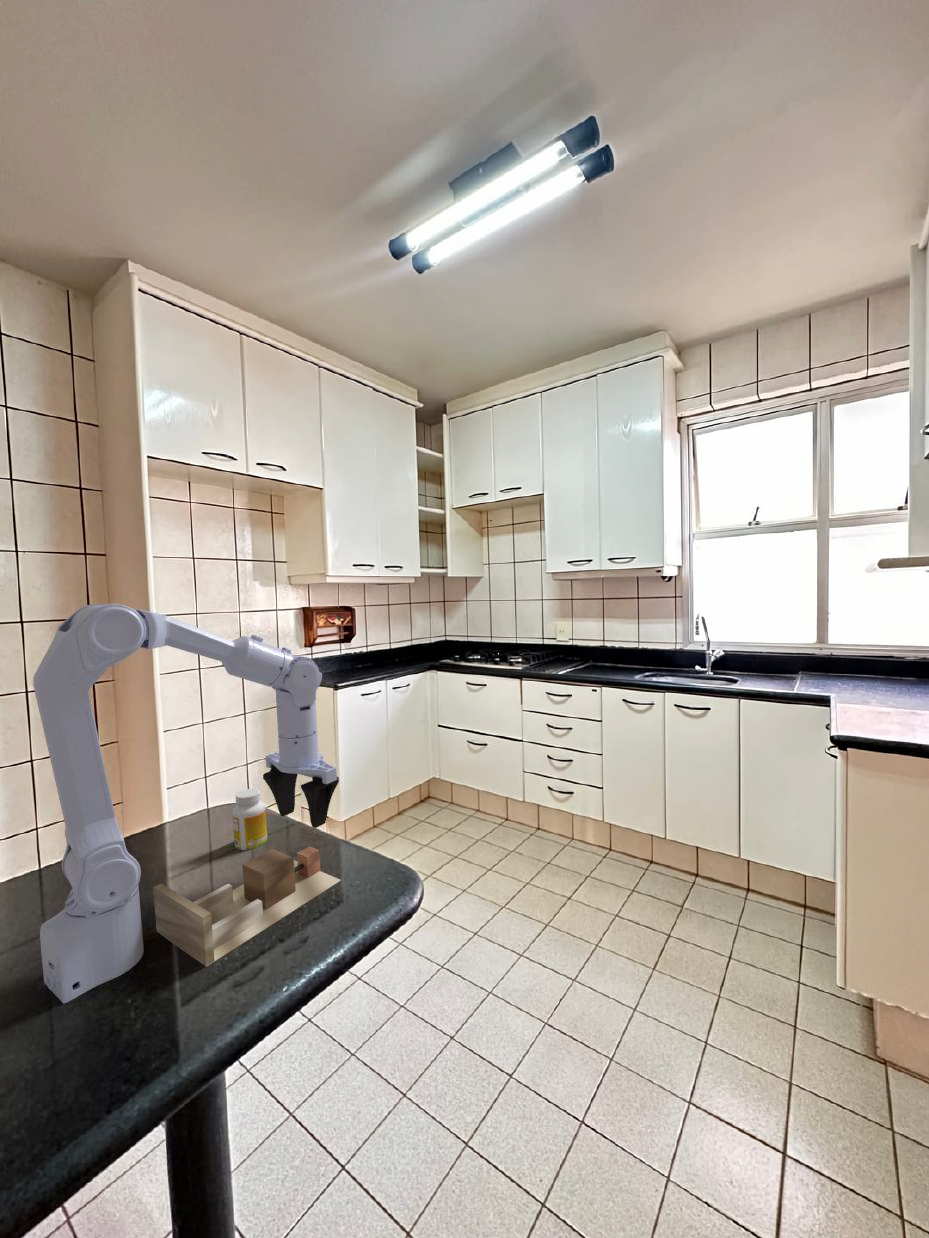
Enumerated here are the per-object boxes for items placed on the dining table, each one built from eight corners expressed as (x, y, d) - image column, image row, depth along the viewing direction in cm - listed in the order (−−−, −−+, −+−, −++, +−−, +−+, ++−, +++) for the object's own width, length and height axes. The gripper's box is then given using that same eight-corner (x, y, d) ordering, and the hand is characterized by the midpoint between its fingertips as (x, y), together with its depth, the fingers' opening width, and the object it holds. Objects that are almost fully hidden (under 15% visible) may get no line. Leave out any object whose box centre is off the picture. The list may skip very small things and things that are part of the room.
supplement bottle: (273, 839, 94) (269, 786, 94) (258, 854, 89) (254, 799, 88) (244, 838, 95) (241, 786, 94) (228, 854, 90) (224, 799, 89)
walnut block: (265, 908, 72) (263, 874, 72) (244, 897, 75) (242, 864, 75) (326, 872, 81) (324, 841, 81) (305, 863, 84) (303, 833, 84)
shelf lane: (206, 972, 62) (202, 917, 61) (157, 936, 69) (153, 887, 68) (341, 884, 79) (339, 841, 79) (291, 863, 86) (288, 823, 85)
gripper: (350, 732, 79) (354, 819, 80) (289, 721, 87) (294, 800, 88) (312, 745, 73) (317, 839, 74) (251, 731, 82) (257, 816, 82)
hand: (302, 819), depth 81 cm, fingers open, 7 cm apart
